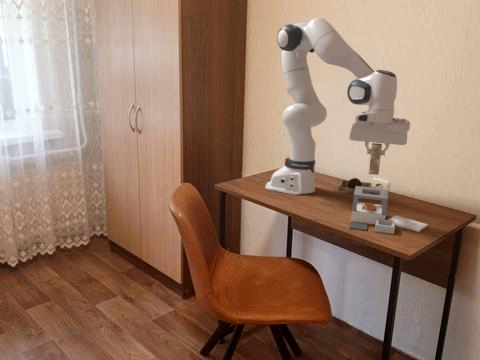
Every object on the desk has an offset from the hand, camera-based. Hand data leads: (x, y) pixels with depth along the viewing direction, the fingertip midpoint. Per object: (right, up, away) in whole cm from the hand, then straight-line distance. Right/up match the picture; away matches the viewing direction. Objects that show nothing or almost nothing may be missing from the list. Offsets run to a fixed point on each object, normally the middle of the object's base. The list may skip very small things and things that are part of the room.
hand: (375, 154), depth 171 cm
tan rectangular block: (0, -7, +2) cm, 7 cm away
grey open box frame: (-1, -24, +7) cm, 25 cm away
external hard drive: (+12, -27, +2) cm, 29 cm away
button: (-1, -22, +6) cm, 23 cm away
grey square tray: (+2, -27, -4) cm, 28 cm away
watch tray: (+3, -14, +42) cm, 44 cm away
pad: (-7, -26, -3) cm, 27 cm away
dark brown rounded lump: (0, -15, +40) cm, 43 cm away
